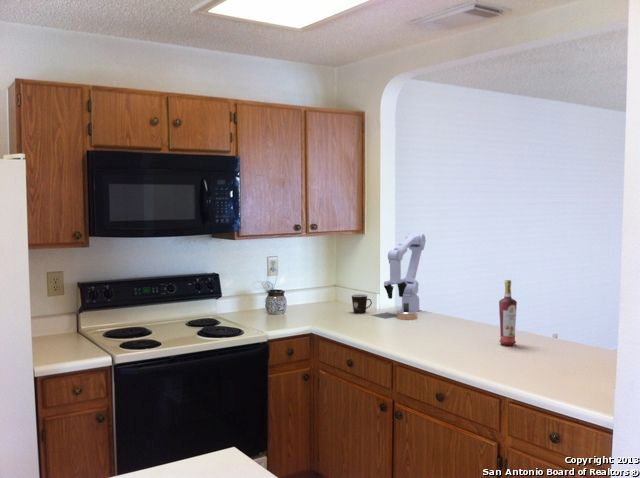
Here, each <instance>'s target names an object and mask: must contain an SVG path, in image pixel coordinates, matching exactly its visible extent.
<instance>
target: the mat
mask: <svg viewBox="0 0 640 478" xmlns="http://www.w3.org/2000/svg"><path fill="white" fill-rule="evenodd" d="M370 316H371V317H376V318H380V319H385V320H386V319H391V318H397V313H393V312H389V311H387V312H383V313H376V314H371V315H370Z"/></svg>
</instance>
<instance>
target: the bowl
mask: <svg viewBox="0 0 640 478" xmlns="http://www.w3.org/2000/svg"><path fill="white" fill-rule="evenodd" d="M396 314H397V313H396ZM396 318H397V319H398V320H401V321H413V320H417V319H418V313H417V312H416V314H414V315H399V314H397V317H396Z"/></svg>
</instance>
